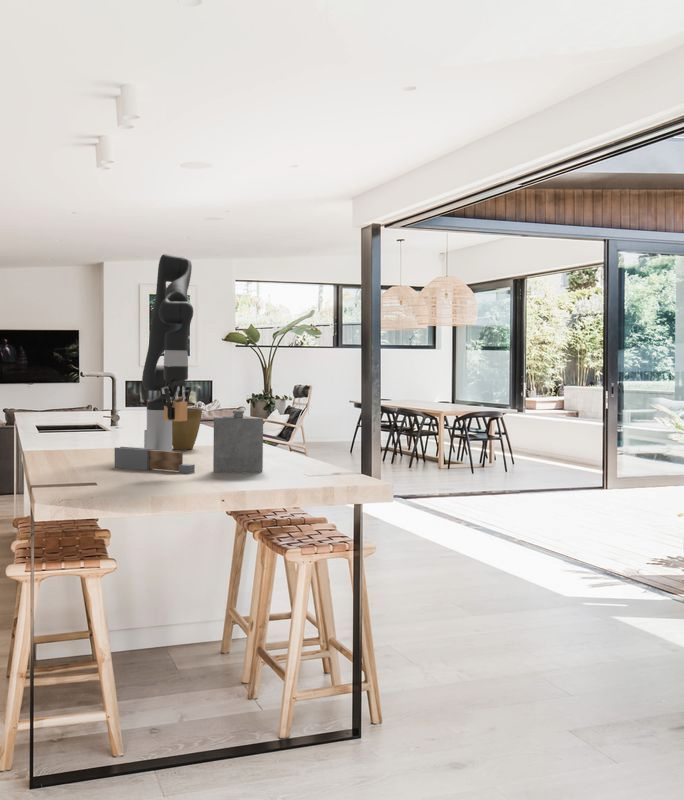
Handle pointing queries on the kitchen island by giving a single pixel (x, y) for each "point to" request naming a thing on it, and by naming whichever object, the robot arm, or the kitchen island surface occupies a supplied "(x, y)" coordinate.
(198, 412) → the plant pot
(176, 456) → the gate
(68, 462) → the kitchen island surface
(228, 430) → the hip flask
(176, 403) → the orange block
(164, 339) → the robot arm
